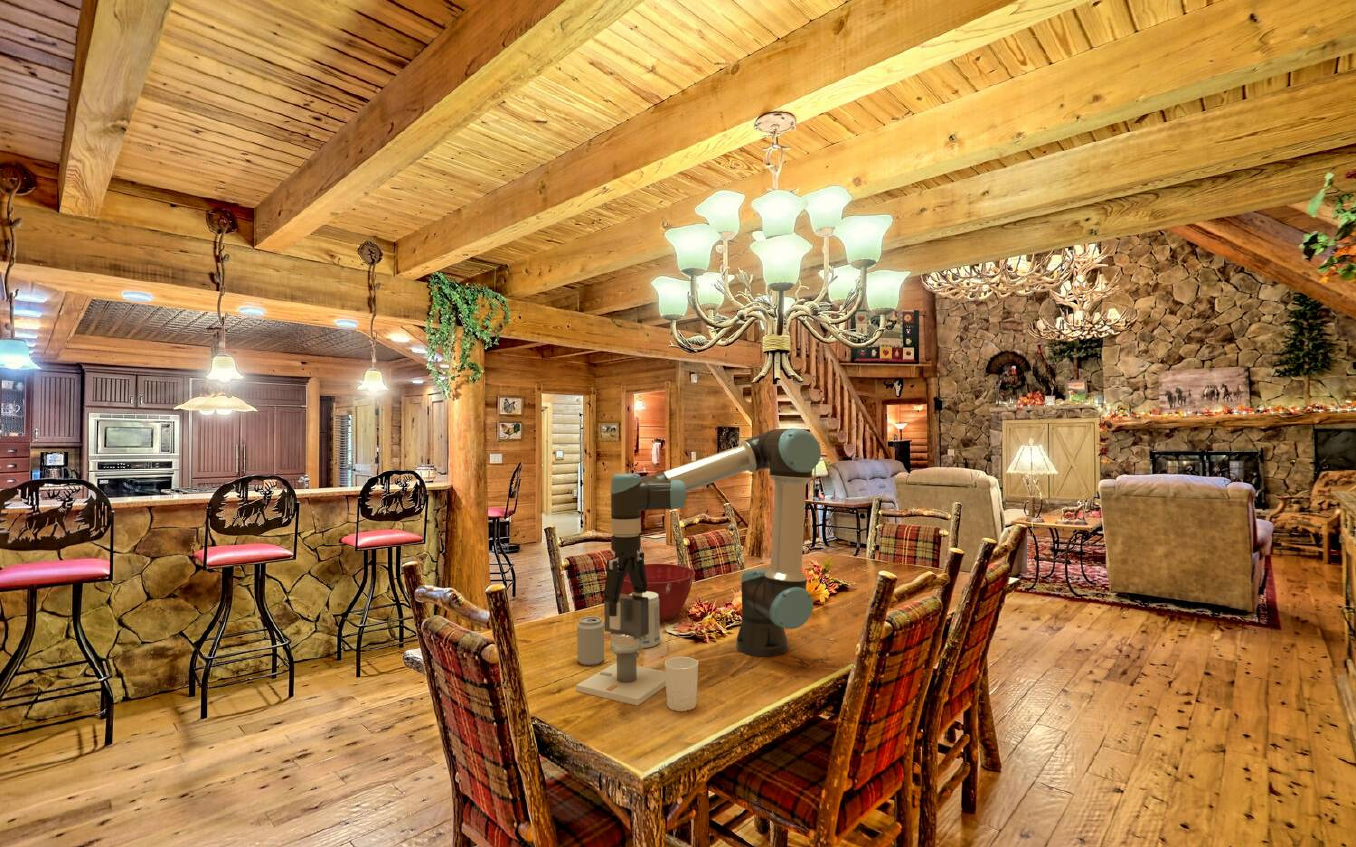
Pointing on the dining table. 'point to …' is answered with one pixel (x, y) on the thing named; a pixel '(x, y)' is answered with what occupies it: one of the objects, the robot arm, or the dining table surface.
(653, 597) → the supplement tub
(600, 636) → the can
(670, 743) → the dining table surface
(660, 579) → the mixing bowl
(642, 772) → the dining table surface
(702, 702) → the dining table surface
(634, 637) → the coupling
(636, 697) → the post base
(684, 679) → the white cup
